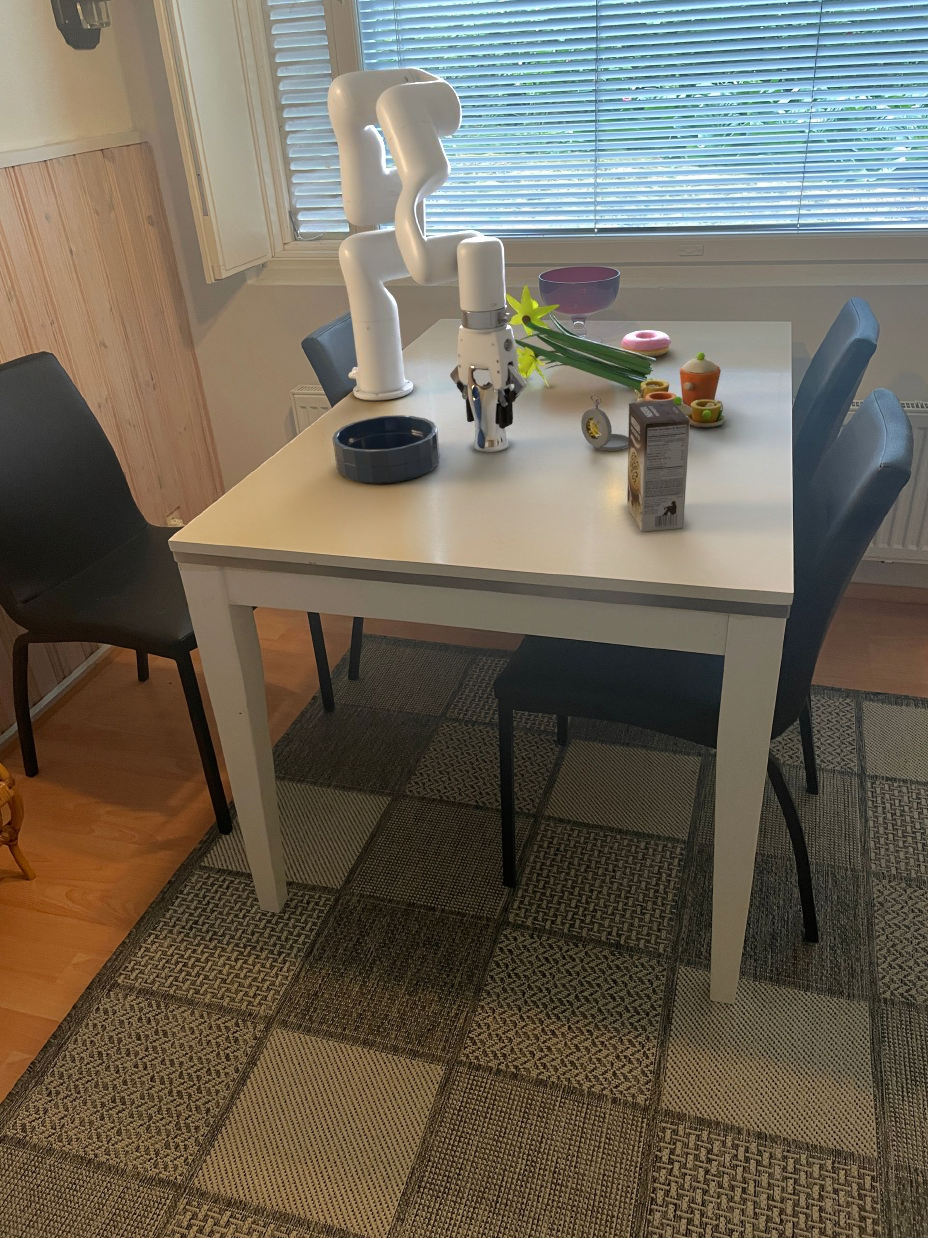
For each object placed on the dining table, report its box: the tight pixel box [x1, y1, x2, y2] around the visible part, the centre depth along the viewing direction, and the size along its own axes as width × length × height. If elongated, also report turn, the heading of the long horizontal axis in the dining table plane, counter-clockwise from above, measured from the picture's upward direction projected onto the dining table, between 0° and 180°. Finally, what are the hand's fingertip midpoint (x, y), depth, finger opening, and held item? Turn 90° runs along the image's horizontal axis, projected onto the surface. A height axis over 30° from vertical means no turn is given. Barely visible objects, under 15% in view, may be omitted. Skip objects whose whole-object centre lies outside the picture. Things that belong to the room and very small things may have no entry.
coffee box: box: [626, 400, 691, 533], centre depth 133 cm, size 9×6×16 cm
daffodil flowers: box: [506, 284, 657, 392], centre depth 192 cm, size 17×15×35 cm
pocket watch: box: [580, 394, 628, 452], centre depth 160 cm, size 8×8×10 cm
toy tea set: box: [634, 352, 726, 428], centre depth 171 cm, size 26×16×10 cm, turn 176°
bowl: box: [331, 414, 441, 485], centre depth 160 cm, size 18×18×6 cm
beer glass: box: [467, 364, 509, 453], centre depth 163 cm, size 7×7×15 cm
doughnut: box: [620, 329, 672, 358], centre depth 210 cm, size 11×11×4 cm
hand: (489, 422), depth 164 cm, fingers closed on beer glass, 6 cm apart
